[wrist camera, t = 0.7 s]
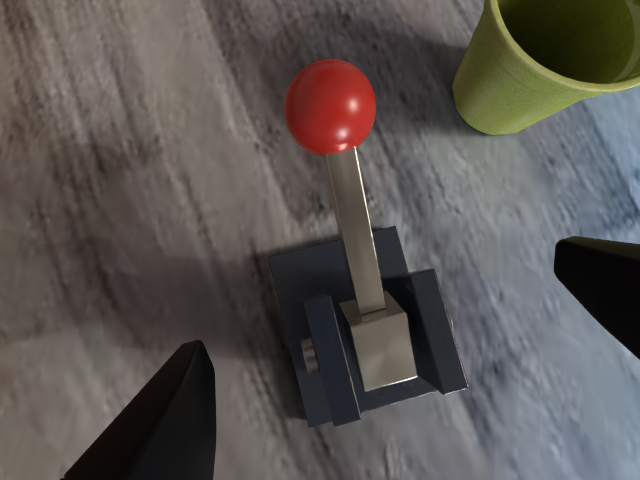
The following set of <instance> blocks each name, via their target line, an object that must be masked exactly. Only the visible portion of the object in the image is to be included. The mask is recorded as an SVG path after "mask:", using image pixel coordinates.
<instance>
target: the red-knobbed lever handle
mask: <svg viewBox="0 0 640 480" xmlns="http://www.w3.org/2000/svg"><path fill="white" fill-rule="evenodd" d="M284 115H285V121H286V124H287V127H288V129H289V131H290V133H291V135H292V136H293V138H294V139H295V140H296V142H297V143H298V144H299V145H300V146H302V147H303V148H304V149H306V150H308V151H309V152H311V153H314V154H316V155H320V156H322V158H323V162H324V167H325V172H326V176H327V181H328V186H329V190H330V195H331V200H332V204H333V209H334V214H335V218H336V223H337V228H338V232H339V237H340V242H341V246H342V251H343V256H344V260H345V265H346V269H347V274H348V279H349V283H350V288H351V293H352V297H353V300H349V301H346V302H342V303H339V308H340V312H341V317H342V321H343V326H344V330H345V335H346V339H347V343H348V348H349V352H350V357H351V360H352V363H353V366H354V368H355V371H356V373H357V376H358V378H359V381H360V383H361V386H362V388H363V391H364V392H367V391H370V390H374V389H377V388H381V387H385V386H388V385H392V384H395V383H399V382H402V381H406V380H410V379H413V378H417V377H418V373H417V367H416V361H415V356H414V350H413V345H412V339H411V334H410V328H409V322H408V317H407V313H406V311H405V310H404V309H403V308H402V307H401V306H400V305H399V303H398V302H397V301H396V300H395V299H394V298H393V297H392V296H391V294H390V293H389V292H388V291H383V286H382V281H381V276H380V271H379V265H378V260H377V255H376V250H375V245H374V239H373V234H372V229H371V224H370V219H369V213H368V208H367V203H366V198H365V193H364V188H363V182H362V177H361V172H360V167H359V162H358V156H357V151H356V147H358V146H359V145H360V144H361V143H362V142H363V141H364V140H365V138H366V137H367V136H368V134H369V132H370V130H371V128H372V126H373V123H374V120H375V115H376V99H375V95H374V91H373V88H372V86H371V84H370V82H369V80H368V79H367V78H366V76H365V75H364V74H363V73H362V72H361V71H360V70H359V69H358V68H357V67H355V66H354V65H352V64H350V63H348V62H346V61H343V60H339V59H322V60H318V61H315V62H313V63H311V64H309V65H307V66H305V67H304V68H303V69H301V70H300V71H299V72H298V73H297V74H296V75H295V77H294V78H293V80H292V81H291V83H290V85H289V87H288V89H287V92H286V95H285V100H284Z"/></svg>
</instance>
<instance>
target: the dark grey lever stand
mask: <svg viewBox="0 0 640 480" xmlns="http://www.w3.org/2000/svg"><path fill="white" fill-rule="evenodd" d="M372 234H373V239H374V245H375V250H376V255H377V260H378V265H379V271H380V276H381V281H382V286H383V291H388V292H389V293H390V294H391V296H392V297H393V298H394V299H395V300H396V301H397V302H398V303H399V305H400V306H401V307H402V308H403V309H404V310H405V311H406V313H407V317H408V322H409V328H410V334H411V339H412V345H413V350H414V356H415V361H416V367H417V373H418V377H417V378H413V379H410V380H406V381H402V382H399V383H395V384H392V385H388V386H385V387H381V388H377V389H374V390H370V391H367V392H364V391H363V388H362V386H361V383H360V381H359V378H358V376H357V373H356V371H355V368H354V366H353V363H352V360H351V357H350V352H349V348H348V343H347V339H346V335H345V330H344V326H343V321H342V317H341V312H340V308H339V303H342V302H346V301H349V300H353V297H352V293H351V288H350V283H349V279H348V274H347V269H346V265H345V260H344V256H343V251H342V246H341V242H340V240H336V241H332V242H328V243H324V244H320V245H316V246H312V247H308V248H304V249H300V250H296V251H292V252H288V253H283V254H279V255H275V256H271V257H269V262H270V267H271V271H272V275H273V279H274V283H275V288H276V292H277V296H278V300H279V305H280V309H281V313H282V317H283V321H284V326H285V330H286V334H287V338H288V343H289V347H290V351H291V355H292V359H293V364H294V368H295V372H296V376H297V381H298V385H299V389H300V393H301V397H302V402H303V406H304V410H305V414H306V419H307V423H308V427H313V426H316V425H320V424H323V423H327V422H330V421H333V425H334V426H339V425H342V424H346V423H349V422H353V421H356V420H360V419H361V414H360V413H362V412H366V411H369V410H373V409H376V408H380V407H383V406H387V405H390V404H394V403H397V402H401V401H404V400H408V399H411V398H415V397H418V396H422V395H425V394H429V393H432V392H436V391H439V392H440V393H442V394H443V395H446V394H450V393H453V392H457V391H460V390H464V389H467V388H469V385H468V382H467V379H466V375H465V372H464V368H463V365H462V361H461V358H460V355H459V351H458V348H457V344H456V341H455V337H454V325H453V321H452V318H451V315H450V313H449V311H448V310H447V308H446V306H445V303H444V300H443V296H442V293H441V289H440V286H439V282H438V279H437V276H436V272H435V270H434V269H428V270H421V271H415V272H408V269H407V265H406V262H405V258H404V254H403V251H402V247H401V244H400V240H399V237H398V233H397V230H396V226H393V227H389V228H385V229H381V230H377V231H372Z"/></svg>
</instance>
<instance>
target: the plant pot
mask: <svg viewBox="0 0 640 480" xmlns="http://www.w3.org/2000/svg"><path fill="white" fill-rule="evenodd" d="M638 85H640V0H485V3H484V11H483V13H482V15H481V18H480V20H479V22H478V25H477V27H476V29H475V32H474V34H473V36H472V39H471V41H470V43H469V46H468V48H467V50H466V52H465V54H464V57H463V59H462V61H461V63H460V65H459V68H458V70H457V72H456V75H455V77H454V80H453V85H452V89H453V94H454V99H455V104H456V109H457V111H458V112H459V114H460V116H461V117H462V118H463V119H464V120H465V121H466V122H467V123H468V124H469V125H470V126H472V127H473V128H475V129H477V130H478V131H481V132H483V133H486V134H490V135H502V134H512V133H516V132H518V131H521V130H523V129H525V128H527V127H529V126H530V125H532V124H534V123H536V122H538V121H540V120H542V119H544V118H546V117H548V116H550V115H552V114H554V113H556V112H558V111H560V110H562V109H564V108H566V107H568V106H570V105H572V104H574V103H576V102H578V101H580V100H583V99H585V98H588V97H593V96H597V95H600V94H606V93H614V92H620V91H624V90H628V89H631V88H634V87H636V86H638Z"/></svg>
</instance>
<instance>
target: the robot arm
mask: <svg viewBox="0 0 640 480" xmlns="http://www.w3.org/2000/svg"><path fill="white" fill-rule="evenodd" d="M554 273H555V275H556V277H557V278H558V280H559V281H560V282H561V283H562V284H563V285H564V286H565V287H566V288H567V289H568V290H569V291H570V292H571V294H572V295H573V296H574V297H575V298H576V299H577V300H578V301H579V302H580V303H581V304H582V305H583V306H584V308H585V309H586V310H587V311H588V312H589V313H590V314H591V315H592V316H593V317H594V318H595V319H596V320H597V321H598V322H599V323H600V324H601V325H602V326H603V327H604V328H605V329H606V330H607V331H608V332H609V333H610V334H612V335H613V336H614V337H615V338H616V339H617V340H618V341H619V342H620V343H622V344H623V345H624V346H625V347H626V348H627V349H628V350H629V351H631V352H632V353H633V354H634V355H635V356H636V357H637V358H638V359H639V360H640V244H633V243H625V242H618V241H610V240H602V239H594V238H586V237H578V236H573V237H569V238H565V239H562V240H559V241H558V242H557V244H556V247H555V259H554ZM215 451H216V396H215V372H214V367H213V364H212V362H211V360H210V357H209V355H208V353H207V350H206V348H205V346H204V344H203V342H202V341H201V340H195V341H191V342H188V343H184V344H182V345H181V346H180V347H179V348H178V349H177V351H176V352H175V353H174V354H173V355H172V356H171V357H170V358H169V359H168V361H167V362H166V363H165V364H164V365H163V366H162V367H161V368H160V369H159V371H158V372H157V373H156V374H155V375H154V376H153V377H152V378H151V379H150V381H149V382H148V383H147V384H146V385H145V386H144V387H143V388H142V389H141V390H140V392H139V393H138V394H137V395H136V396H135V397H134V398H133V399H132V400H131V402H130V403H129V404H128V405H127V406H126V407H125V408H124V409H123V410H122V412H121V413H120V414H119V415H118V416H117V417H116V418H115V419H114V420H113V422H112V423H111V424H110V425H109V426H108V427H107V428H106V429H105V430H104V431H103V433H102V434H101V435H100V436H99V437H98V438H97V439H96V440H95V441H94V443H93V444H92V445H91V446H90V447H89V448H88V449H87V450H86V451H85V452H84V454H83V455H82V456H81V457H80V458H79V459H78V460H77V461H76V462H75V464H74V465H73V466H72V467H71V468H70V469H69V470H68V471H67V472H66V474H65V475H64V478H65V479H64V478H61V479H60V480H213V473H214V462H215Z"/></svg>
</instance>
